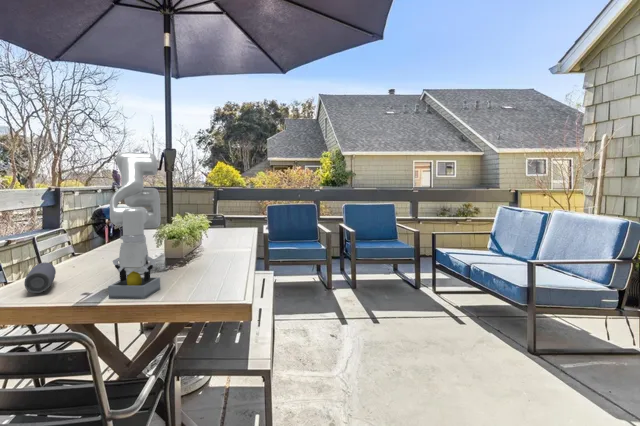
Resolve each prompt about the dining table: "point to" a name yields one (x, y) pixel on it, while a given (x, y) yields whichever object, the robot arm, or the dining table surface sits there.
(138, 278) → the lemon
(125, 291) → the grey shallow tray
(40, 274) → the bluetooth speaker
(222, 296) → the dining table surface
